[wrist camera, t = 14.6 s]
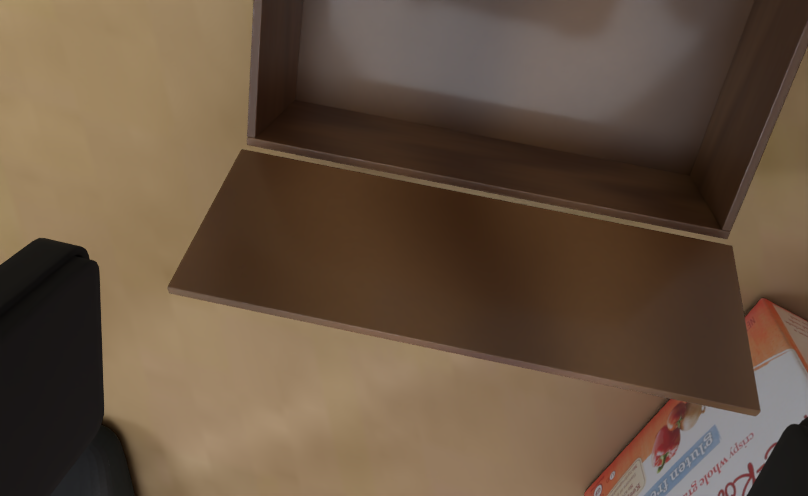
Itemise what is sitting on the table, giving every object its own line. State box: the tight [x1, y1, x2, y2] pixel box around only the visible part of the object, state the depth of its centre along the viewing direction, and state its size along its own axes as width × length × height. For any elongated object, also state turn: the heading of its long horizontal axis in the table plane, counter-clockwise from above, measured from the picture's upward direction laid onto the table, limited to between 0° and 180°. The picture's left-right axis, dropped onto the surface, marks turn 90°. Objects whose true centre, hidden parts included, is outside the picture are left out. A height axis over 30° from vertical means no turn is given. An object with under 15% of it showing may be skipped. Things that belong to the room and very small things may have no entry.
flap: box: [168, 149, 761, 416], centre depth 21 cm, size 16×6×1 cm
